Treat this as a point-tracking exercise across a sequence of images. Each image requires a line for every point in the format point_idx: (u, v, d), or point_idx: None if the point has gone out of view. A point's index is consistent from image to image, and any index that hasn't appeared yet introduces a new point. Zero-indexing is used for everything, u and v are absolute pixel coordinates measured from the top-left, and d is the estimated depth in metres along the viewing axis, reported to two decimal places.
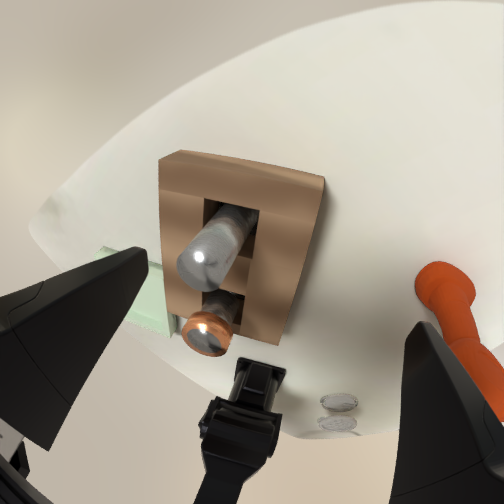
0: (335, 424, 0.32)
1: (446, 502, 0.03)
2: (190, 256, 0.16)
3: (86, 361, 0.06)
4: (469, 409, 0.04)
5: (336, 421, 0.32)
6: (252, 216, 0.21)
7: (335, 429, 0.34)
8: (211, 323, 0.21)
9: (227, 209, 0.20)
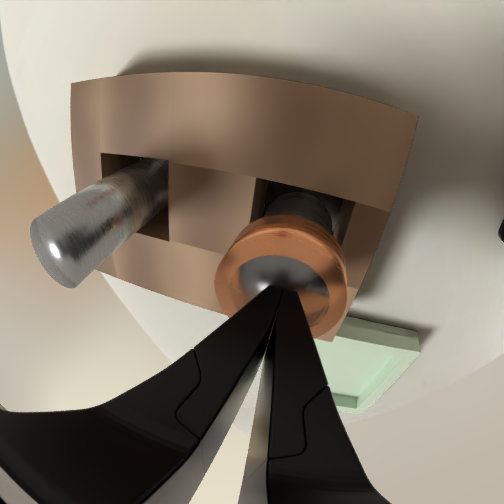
0: None
1: (250, 502, 0.03)
2: (42, 259, 0.08)
3: (229, 424, 0.06)
4: (293, 391, 0.05)
5: None
6: None
7: None
8: None
9: None
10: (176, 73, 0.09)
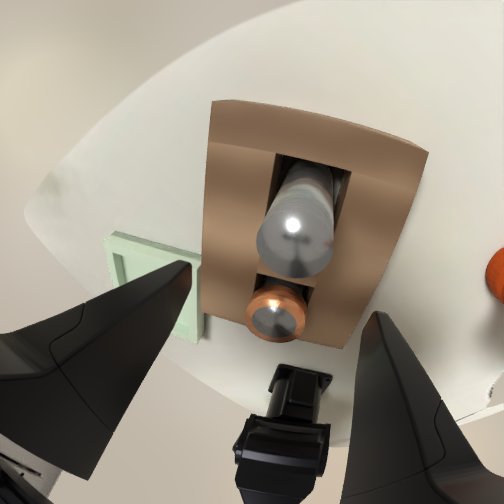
0: None
1: None
2: (286, 221, 0.10)
3: (131, 385, 0.06)
4: (419, 409, 0.04)
5: None
6: (332, 183, 0.16)
7: None
8: (287, 298, 0.17)
9: (306, 169, 0.14)
10: (390, 255, 0.15)
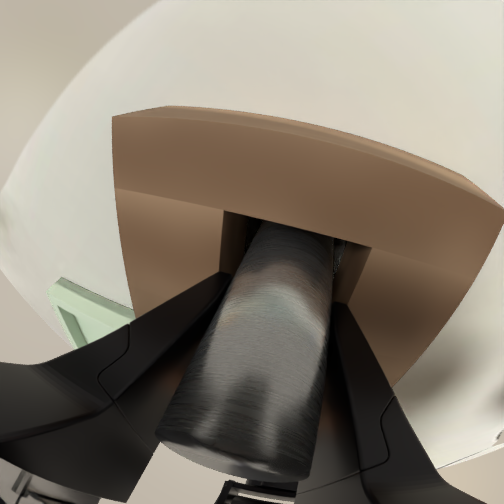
0: None
1: None
2: (200, 443, 0.04)
3: None
4: (366, 404, 0.04)
5: None
6: (332, 253, 0.09)
7: None
8: None
9: (284, 240, 0.08)
10: (413, 362, 0.09)
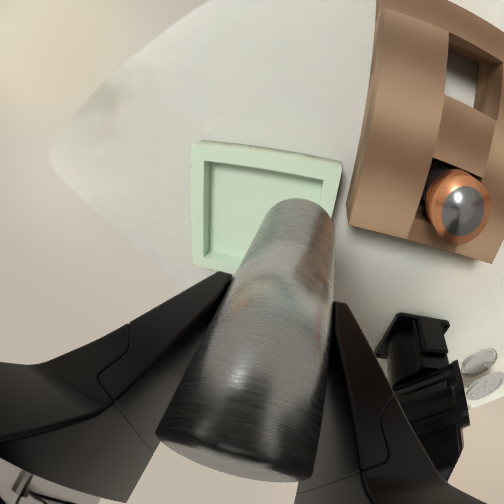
0: (484, 387, 0.20)
1: None
2: (202, 442, 0.03)
3: None
4: (366, 404, 0.04)
5: (488, 382, 0.20)
6: (333, 252, 0.09)
7: (478, 395, 0.21)
8: (476, 179, 0.11)
9: (285, 238, 0.08)
10: None
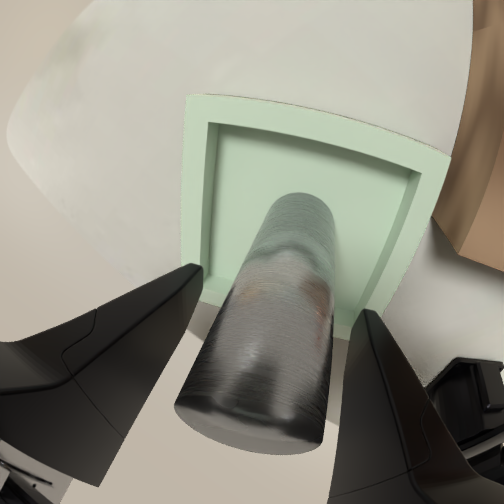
0: None
1: None
2: (222, 408, 0.04)
3: (143, 391, 0.06)
4: (405, 408, 0.04)
5: None
6: (334, 242, 0.10)
7: None
8: None
9: (290, 227, 0.08)
10: None
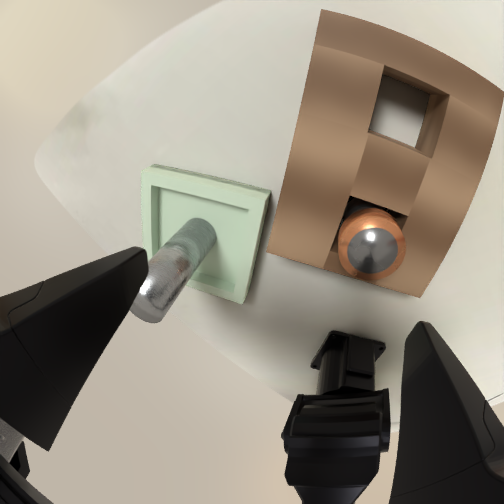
0: None
1: (446, 502, 0.03)
2: None
3: (86, 361, 0.06)
4: (469, 409, 0.04)
5: None
6: (205, 243, 0.21)
7: None
8: (391, 220, 0.14)
9: (179, 236, 0.19)
10: (477, 184, 0.12)
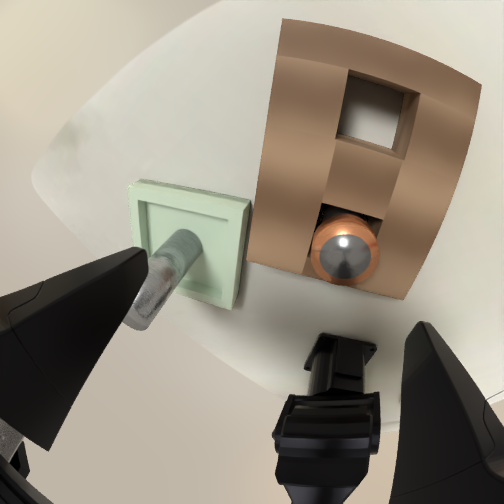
0: None
1: (446, 502, 0.03)
2: None
3: (86, 361, 0.06)
4: (469, 409, 0.04)
5: None
6: (190, 253, 0.22)
7: None
8: (362, 225, 0.14)
9: (164, 248, 0.20)
10: (456, 183, 0.13)
